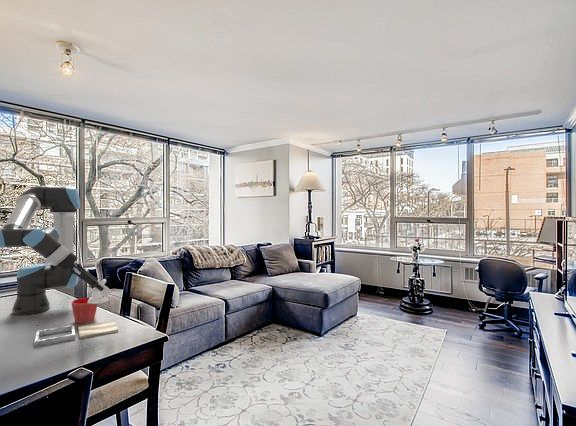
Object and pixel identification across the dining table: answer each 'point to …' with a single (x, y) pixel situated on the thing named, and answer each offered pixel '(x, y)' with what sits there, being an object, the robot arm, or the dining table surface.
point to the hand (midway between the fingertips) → (107, 292)
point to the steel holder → (54, 339)
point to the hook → (98, 296)
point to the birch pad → (97, 329)
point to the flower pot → (83, 310)
